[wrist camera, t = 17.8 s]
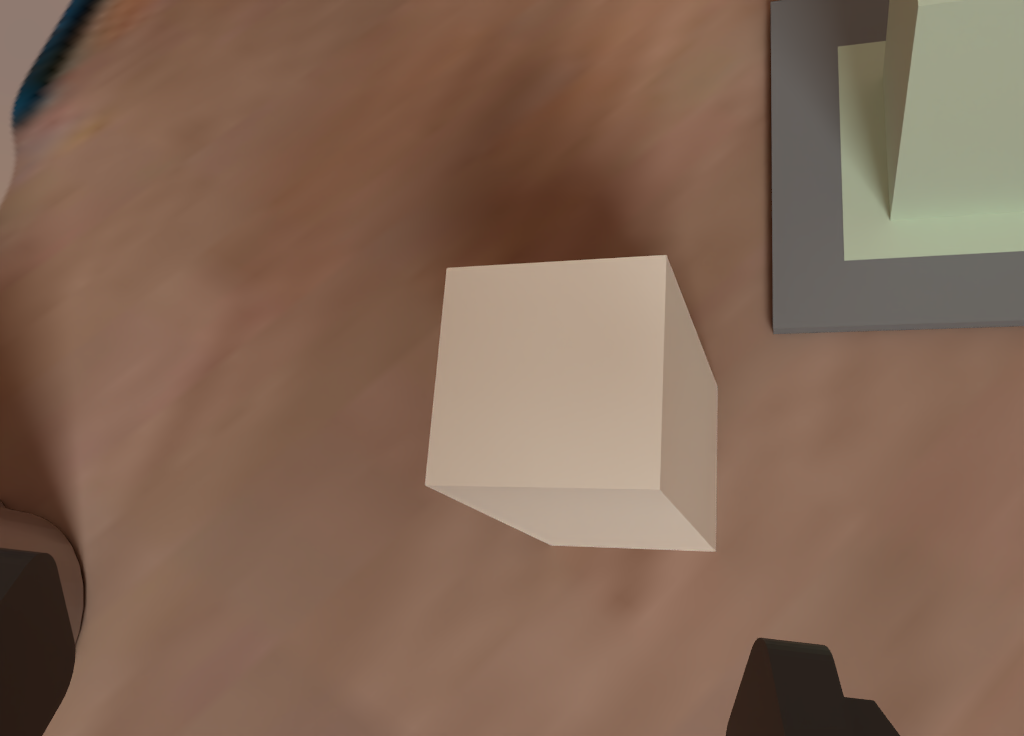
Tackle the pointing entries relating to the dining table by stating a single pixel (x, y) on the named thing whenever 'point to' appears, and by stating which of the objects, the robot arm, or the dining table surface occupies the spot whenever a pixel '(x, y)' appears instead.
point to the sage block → (954, 107)
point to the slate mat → (865, 196)
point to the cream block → (577, 404)
